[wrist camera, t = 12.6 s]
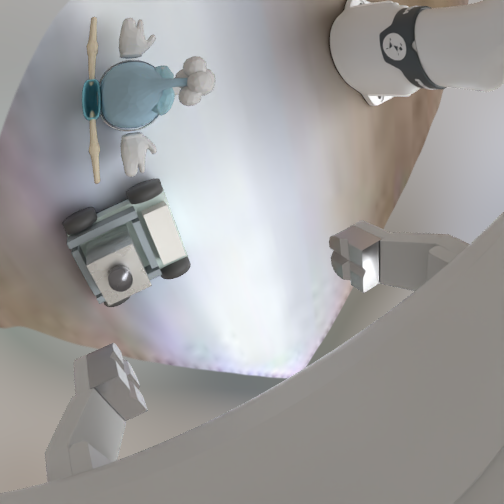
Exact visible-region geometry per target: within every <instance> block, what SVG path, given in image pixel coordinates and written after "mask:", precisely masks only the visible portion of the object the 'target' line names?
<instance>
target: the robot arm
mask: <svg viewBox="0 0 504 504" xmlns="http://www.w3.org/2000/svg"><path fill="white" fill-rule="evenodd" d="M330 48H331V54H332V57H333V60H334V63H335V66H336V68H337V70H338V71H339V73H340V75H341V76H342V77H343V79H344V80H345V81H346V82H347V83H348V84H349V85H350V86H351V87H353V88H354V89H356V90H357V91H359V92H360V93H361V94H362V95H363V97H364V98H365V100H366V101H367V102H368V104H369V105H371V106H377V105H379V104H381V103H383V102H385V101H387V100H389V99H391V98H393V97H395V96H399V97H408V96H410V95H411V94H412V93H414V92H416V91H417V90H419V89H420V88H426V89H431V90H435V89H445V88H446V87H452V88H460V89H468V90H475V91H482V92H489V91H492V90H495V89H497V88H499V87H500V86H501V85H502V84H503V83H504V0H483V1H480V2H478V3H474V4H469V5H461V6H453V7H443V8H431V7H428V6H411V7H408V6H404V5H399V4H398V3H396V2H392V1H382V2H375V3H371V2H369V1H366V0H347V2H346V5H345V9H344V11H343V12H342V13H341V14H340V15H339V16H338V17H337V18H336V20H335V21H334V23H333V25H332V29H331V33H330ZM329 247H330V248H331V249H332V250H333V253H332V256H331V263H332V267H333V269H334V271H335V273H336V274H337V275H338V276H339V277H341V278H342V279H344V280H350V281H351V285H352V286H354V287H355V288H357V289H358V290H360V291H361V292H363V293H364V292H366V291H368V290H369V289H371V288H372V287H374V286H375V285H377V284H379V283H380V284H384V285H389V286H393V287H398V288H403V289H407V290H413V291H415V292H413V293H412V294H411V295H410V296H408V297H407V298H406V299H404V300H403V301H402V302H400V303H399V304H398V305H397V306H395V307H394V308H393V309H391V310H390V311H389V312H387V313H386V314H385V315H383V316H382V317H380V318H379V319H378V320H376V321H375V322H373V323H372V324H371V325H369V326H368V327H366V328H365V329H364V330H362V331H361V332H359V333H358V334H357V335H355V336H354V337H352V338H351V339H349V340H348V341H346V342H345V343H343V344H342V345H340V346H339V347H337V348H336V349H334V350H333V351H331V352H330V353H328V354H327V355H325V356H323V357H322V358H320V359H319V360H317V361H316V362H314V363H312V364H311V365H309V366H308V367H306V368H304V369H303V370H301V371H300V372H298V373H296V374H295V375H293V376H291V377H290V378H288V379H286V380H285V381H283V382H281V383H279V384H278V385H276V386H274V387H272V388H271V389H269V390H267V391H265V392H264V393H262V394H260V395H258V396H256V397H255V398H253V399H251V400H249V401H247V402H246V403H243V404H242V405H240V406H238V407H236V408H234V409H232V410H230V411H228V412H226V413H224V414H222V415H220V416H218V417H216V418H214V419H212V420H210V421H208V422H206V423H204V424H202V425H200V426H198V427H196V428H194V429H191V430H189V431H187V432H185V433H183V434H180V435H178V436H176V437H174V438H171V439H169V440H167V441H164V442H162V443H160V444H158V445H155V446H153V447H150V448H148V449H145V450H143V451H140V452H138V453H135V454H133V455H130V456H128V457H125V458H122V459H120V460H117V459H118V454H119V450H120V445H121V441H122V437H123V433H124V429H125V425H126V422H125V421H127V420H129V419H131V418H133V417H136V416H138V415H140V414H142V413H144V412H146V411H148V410H147V408H146V404H145V401H144V398H143V395H142V394H141V393H140V391H139V387H140V385H139V381H138V379H137V376H136V374H135V372H134V370H133V369H132V367H131V365H130V364H129V362H128V361H127V360H124V359H123V358H122V354H121V351H120V350H119V348H118V347H117V345H116V344H114V343H112V344H110V345H107V346H105V347H103V348H101V349H98V350H96V351H94V352H92V353H89V354H88V355H84V356H83V357H80V358H78V359H76V360H75V361H74V378H75V379H74V380H75V394H76V396H74V397H72V398H71V400H70V402H69V404H68V406H67V408H66V410H65V412H64V414H63V416H62V418H61V420H60V422H59V424H58V426H57V428H56V430H55V433H54V434H53V437H52V439H51V441H50V443H49V445H48V447H47V449H46V452H45V459H46V471H47V480H48V482H47V483H44V484H40V485H35V486H31V487H27V488H23V489H19V490H14V491H9V492H4V493H0V504H504V212H503V213H502V214H501V215H500V216H499V217H498V218H497V219H496V220H495V221H494V222H493V223H492V224H491V225H490V226H489V227H488V228H487V229H486V230H485V231H484V232H483V233H482V234H480V235H479V236H478V237H477V238H476V239H475V240H474V241H473V242H472V243H471V244H468V243H466V242H464V241H462V240H460V239H458V238H455V237H453V236H451V235H449V234H429V233H409V232H393V233H390V232H388V231H386V230H384V229H381V228H379V227H377V226H375V225H373V224H370V223H368V222H366V221H358V222H357V223H355V224H353V225H351V226H350V227H348V228H347V229H345V230H343V231H341V232H339V233H337V234H335V235H333V236H331V237H330V240H329Z"/></svg>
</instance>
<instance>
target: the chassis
mask: <svg viewBox="0 0 504 504" xmlns="http://www.w3.org/2000/svg"><path fill="white" fill-rule="evenodd" d="M126 194H127V197H128V200H125V201H123V202H121V203H119V204H117V205H114V206H112V207H110V208H108V209H106V210H103V211H101V212H99V213H97V214H96V212H95V210H94V208H93V207H88V208H85V209H82V210H80V211H78V212H76V213H74V214H72V215H71V216H69V217H68V218H67V219H66V220H65V221H64V222H63V227H64V229H65V231H66V234H67V236H68V238H67V245H68V247H69V249H72V255H73V257H74V259H75V261H76V263H77V264H78V266H79V268H80V270H81V272H82V274H83V276H84V277H85V279H86V281H87V283H88V285H89V286H90V288H91V290H92V292H93V293H94V295H95V296H96V298H97V300H98V302H99V304H101V303H103V302H104V304H105V305H106V306H107V307H114V306H118V305H120V304H122V303H123V302H125V301H126V300H127V299H128V298H129V297H130V296H129V297H127V298H124V299H122V300H120V301H118V302H116V303H114V304H112V305H110V306H109V305H108V304H107V302H106V300H105V298H104V297H103V295H102V293H101V291H100V290H99V288H98V286H97V284H96V283H95V281H94V279H93V277H92V275H91V273H90V271H89V270H88V268H87V266H86V249H87V243H88V242H90V241H92V240H94V239H96V238H98V237H100V236H102V235H104V234H107V233H109V232H111V231H113V230H115V229H117V228H119V227H122V226H124V225H126V226H127V228H128V230H129V233H130V235H131V237H132V240H133V242H134V244H135V247H136V249H137V251H138V253H139V255H140V258H141V260H142V262H143V265H144V267H145V270H146V272H147V275H148V277H149V280H151V279H154V278H156V277H158V276H160V275H161V277H162V278H164V279H173V278H177V277H179V276H181V275H183V274H184V273H186V272H187V271H188V270H189V268H190V261H189V259H188V255H187V253H186V250H185V247H184V245H183V242H182V239H181V237H180V234H179V231H178V229H177V226H176V223H175V220H174V218H173V215H172V212H171V209H170V207H169V204H168V201H167V198H166V195H165V192H164V190H163V188H162V185H161V182H160V180H159V179H151V180H147V181H144V182H141V183H139V184H137V185H135V186H133V187H132V188H130V189H129V190H128V191H127V192H126Z"/></svg>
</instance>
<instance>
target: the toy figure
mask: <svg viewBox="0 0 504 504" xmlns="http://www.w3.org/2000/svg"><path fill="white" fill-rule="evenodd" d="M155 39H156V38H155V35H151V36H150V37H149V39H148V40H146V39H145V36H144V30H143V21H142V20H139V21H138V23H137V27H136V23H135V20H134V19H133V18H127V19H125V20H124V21H123V24H122V28H121V33H120V38H119V51H120V57H121V58H126V59H127V58H137V57H141V56H142V55H141V54H143V53H144V52H145V51H147V49H148V48H149V47H150V46H151V45H152V44H153V43H154V41H155ZM97 48H98V43H97V18H96V17H93V18H91V25H90V35H89V41H88V44H87V54H88V65H89V80H87V81H86V82H85V83H84V86H83V90H82V108H83V114H84V117H85V118H86V119H87V120H88V121H90V147H89V153H90V155H91V160H92V166H93V174H94V181H95V184H98V183H99V182H100V172H99V152H100V146H99V143H98V140H97V130H96V119H98V117H99V115H100V116H101V118H102V120H103V121H104V122H105V123H106V124H107V125H108V126H110V125H109V124H108V123H107V122H106V121H105V120H104V118H105V119H106V120H107V121H108V122H109V123H111V124H112V125H114V126H117V127H120V128H137V127H140V126H143V125H145V124H147V123H149V122H150V121H151V122H150V123H149V124H147V125H146V126H148V125H150V124H151V123H153V122H154V120H155V119H156V118H157V117H158V115H163V114H166V113H167V112H168V111H169V110H170V108H171V106H172V103H173V101H174V95H179V100H180V102H181V103H182V104H183V105H186V106H193V105H195V104H197V103H198V102H200V100H201V96H203V95H206V94H208V93H210V92H211V91H212V90H213V88H214V85H215V76H214V74H213V72H212V71H211V70H209V69H206V61H205V60H203V59H202V58H201V57H195V56H194V57H191V58H189V59H187V60H186V61H185V62H184V65H183V69H182V70H180V71H179V72H178V73H177V74H176V77H175V78H173V74H172V72H171V71H170V69H169V68H168V67H167V66H158V67H156V68H155V67H154V66H152V65H150V64H149V63H146V62H143V61H139V60H128V61H122V62H120V63H117V64H115V65H113V66H111V67H110V68H109V69H108V70H107V71H109V70H110V69H111V68H112V67H114V66H116V65H118V66H116V67H114V68H112V69H111V70H110V71H109V72H108V73H107V74H106V75H105V73H106V72H107V71H106V72H105V73H104V74H103V76H102V77H101V79H100V82H98V81H97V80H96V79H95V62H96V55H97V53H98V49H97ZM122 63H123V64H122ZM119 64H120V65H119ZM104 75H105V77H104ZM103 77H104V78H103ZM102 78H103V80H102ZM101 80H102V82H101ZM100 83H101V86H100ZM180 88H181V90H180ZM100 110H101V112H102V114H103V116H104V118H103V117H102V115H101V112H100ZM146 126H144V127H146ZM110 127H112V128H114V129H116V130H120V131H135V130H139V129H142V128H144V127H141V128H139V129H134V130H121V129H118V128H115V127H113V126H110ZM147 149H149V150H150V151H151V152H152V154H155V153H156V152H157V151H156V146H155V145H154V144H153V143H152V142H151V141H150V140H149V139H148V138H147V137H146V136H144V135H142V133H140V132H135V133H128V134H125V135H123V136H122V140H121V157H122V161H123V165H124V170H125V173H126V175H127V176H128V177H133V176H135V175H136V174H137V171H138V166H139V170H140V172H141V173H144V171H145V155H146V151H147Z"/></svg>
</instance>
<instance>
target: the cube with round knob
mask: <svg viewBox="0 0 504 504" xmlns="http://www.w3.org/2000/svg"><path fill="white" fill-rule="evenodd" d="M86 266H87V268H88V270H89V271H90V273H91V275H92V277H93V279H94V281H95V283H96V284H97V286H98V288H99V290H100V291H101V293H102V295H103V297H104V298H105V300H106V302H107V304H108V305H109V306H110V305H112V304H114V303H116V302H118V301H120V300H122V299H124V298H127V297H129V296H131V295H133V294H135V293H137V292H139V291H141V290H143V289H146V288H148V287H150V286H152V285H151V282H150V280H149V277H148V275H147V272H146V270H145V267H144V265H143V262H142V260H141V258H140V255H139V253H138V251H137V249H136V247H135V244H134V242H133V240H132V237H131V235H130V233H129V230H128V228H127V226H126V225H124V226H122V227H119V228H117V229H115V230H113V231H111V232H109V233H107V234H104V235H102V236H100V237H98V238H96V239H94V240H92V241H90V242H88V243H87V249H86Z"/></svg>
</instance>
